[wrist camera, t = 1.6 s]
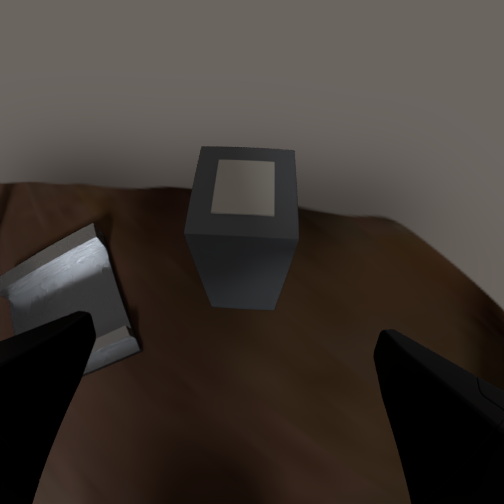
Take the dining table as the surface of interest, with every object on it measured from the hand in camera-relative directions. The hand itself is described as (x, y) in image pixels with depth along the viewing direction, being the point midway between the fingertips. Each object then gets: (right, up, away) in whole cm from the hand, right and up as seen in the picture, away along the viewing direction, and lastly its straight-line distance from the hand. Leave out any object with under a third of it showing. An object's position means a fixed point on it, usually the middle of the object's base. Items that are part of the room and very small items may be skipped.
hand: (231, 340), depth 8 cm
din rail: (-15, -3, +12) cm, 20 cm away
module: (0, +1, +14) cm, 14 cm away
